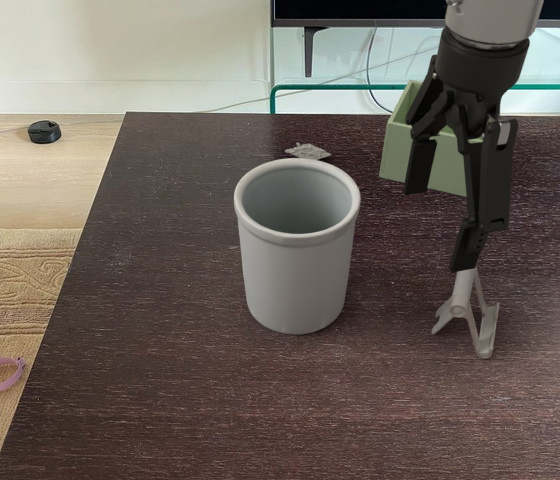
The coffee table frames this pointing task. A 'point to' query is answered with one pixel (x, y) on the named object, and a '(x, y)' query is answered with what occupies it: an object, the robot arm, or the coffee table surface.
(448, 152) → the bin
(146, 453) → the coffee table surface
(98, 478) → the coffee table surface
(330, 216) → the utensil holder
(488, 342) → the tablet stand
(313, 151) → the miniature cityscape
